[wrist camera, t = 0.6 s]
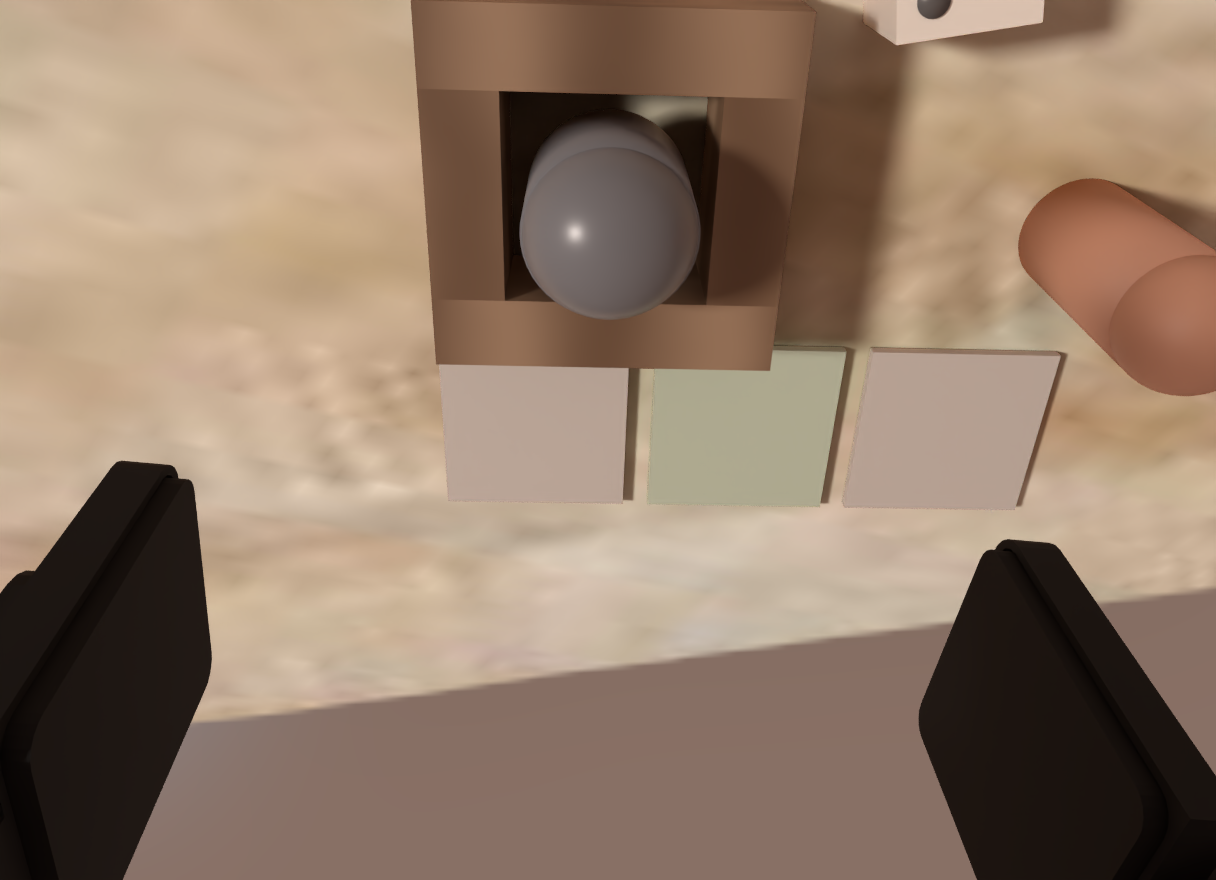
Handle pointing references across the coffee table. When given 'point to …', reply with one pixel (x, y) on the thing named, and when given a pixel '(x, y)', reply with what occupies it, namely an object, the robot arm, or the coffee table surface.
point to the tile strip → (754, 430)
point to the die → (946, 17)
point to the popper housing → (610, 64)
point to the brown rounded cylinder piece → (1128, 282)
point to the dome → (609, 216)
